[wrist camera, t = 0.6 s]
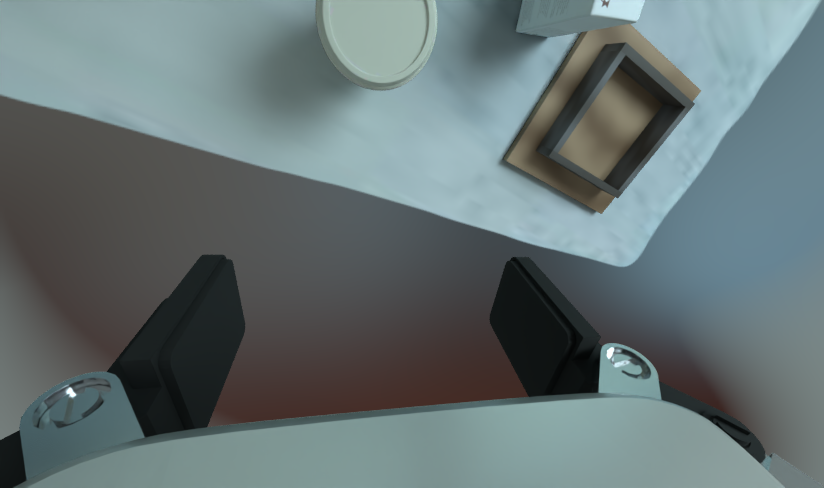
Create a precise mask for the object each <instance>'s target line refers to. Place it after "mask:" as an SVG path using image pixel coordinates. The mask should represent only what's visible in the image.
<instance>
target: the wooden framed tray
mask: <svg viewBox="0 0 824 488" xmlns="http://www.w3.org/2000/svg"><path fill="white" fill-rule="evenodd" d="M700 92H701V90H700V89H699V88H698V87H697V86H696V85H695V84H693V83H692V82H691V81H690V80H689V79H688V78H687V77H686V76H685V75H684V74H683V73H682V72H681V71H680V70H679V69H678V68H676V67H675V66H674V65H673V64H672V63H671V62H670V61H669V60H668V59H667V58H666V57H665V56H664V55H663V54H662V53H660V52H659V51H658V50H657V49H656V48H655V47H654V46H653V45H652V44H651V43H650V42H649V41H648V40H647V39H646V38H644V37H643V36H642V35H641V34H640V33H639V32H638V31H637V30H636V29H635V28H634V27H633V26H632V25H631V24H626V25H619V26H614V27H608V28H603V29H596V30H591V31H585V32H582V33H581V35H580V36H579V38H578V39H577V41H576V43H575V44H574V46H573V47H572V49H571V51H570V52H569V54H568V55H567V57H566V59H565V60H564V62H563V64H562V65H561V67H560V68H559V70H558V72H557V73H556V75H555V76H554V78H553V80H552V81H551V83H550V84H549V86H548V88H547V89H546V91H545V92H544V94H543V96H542V97H541V99H540V100H539V102H538V104H537V105H536V107H535V108H534V110H533V112H532V113H531V115H530V117H529V118H528V120H527V121H526V123H525V125H524V126H523V128H522V129H521V131H520V133H519V134H518V136H517V137H516V139H515V141H514V142H513V144H512V145H511V147H510V149H509V150H508V152H507V153H506V155H505V157H504V158H503V159H504V160H506V161H507V162H509V163H511V164H513V165H514V166H516V167H518V168H520V169H522V170H523V171H525V172H527V173H529V174H531V175H532V176H534V177H536V178H538V179H540V180H541V181H543V182H545V183H547V184H549V185H550V186H552V187H554V188H556V189H558V190H559V191H561V192H563V193H565V194H567V195H568V196H570V197H572V198H574V199H575V200H577V201H579V202H581V203H583V204H584V205H586V206H588V207H590V208H592V209H593V210H595V211H597V212H599V213H601V214H602V213H603V212H604V210H605V209H606V208H607V207H608V205H609V204H610V203H611V202H612V200H613V199H614V198H615V197H616V198H619V196H620V195H621V194H622V193H623V191H624V190H625V189H626V188H627V187H628V185H629V184H630V183H631V182H632V180H633V179H634V178H635V177H636V176H637V174H638V173H639V172H640V171H641V169H642V168H643V167H644V166H645V164H646V163H647V162H648V161H649V160H650V158H651V157H652V156H653V155H654V153H655V152H656V151H657V150H658V149H659V147H660V146H661V145H662V144H663V142H664V141H665V140H666V139H667V137H668V136H669V135H670V134H671V133H672V131H673V130H674V129H675V128H676V126H677V125H678V124H679V123H680V122H681V120H682V119H683V118H684V117H685V115H686V114H687V113H688V112H689V110H690V109H691V108H692V107H693V106H694V103H693V100H694V99H695V98H696V97H697V95H698V94H699V93H700Z"/></svg>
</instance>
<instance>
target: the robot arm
mask: <svg viewBox="0 0 824 488" xmlns="http://www.w3.org/2000/svg"><path fill="white" fill-rule="evenodd" d="M490 324H491V326H492V328H493V330H494V332H495V334H496V336H497V337H498V339H499V341H500V343H501V345H502V347H503V349H504V351H505V353H506V355H507V356H508V358H509V360H510V362H511V364H512V366H513V368H514V370H515V372H516V373H517V375H518V377H519V379H520V381H521V383H522V385H523V387H524V389H525V390H526V392H527V394H528V396H529V397H525V398H524V397H523V398H512V399H499V400H489V401H488V400H487V401H476V402H464V403H453V404H441V405H431V406H419V407H408V408H397V409H386V410H376V411H364V412H353V413H343V414H332V415H322V416H311V417H301V418H291V419H280V420H270V421H260V422H251V423H242V424H233V425H225V426H215V427H207V426H208V424H209V421H210V418H211V416H212V413H213V411H214V408H215V406H216V403H217V401H218V398H219V396H220V393H221V391H222V388H223V386H224V383H225V380H226V378H227V376H228V373H229V371H230V368H231V366H232V363H233V361H234V358H235V355H236V353H237V351H238V348H239V345H240V343H241V340H242V338H243V335H244V332H245V321H244V316H243V311H242V306H241V301H240V296H239V291H238V286H237V281H236V276H235V271H234V266H233V262H232V260H229V259H226V257H225V256H224V255H202V256H201V257H200V258H199V259H198V260H197V262H196V263H195V264H194V266H193V267H192V268H191V269H190V271H189V272H188V273H187V275H186V276H185V277H184V278H183V280H182V281H181V283H180V284H179V285H178V286H177V287H176V289H175V290H174V291H173V292H172V294H171V295H170V296H169V298H167V299H165V300H164V301H163V302H162V303H161V304H160V305H159V307H158V308H157V309H156V310H155V311H154V313H153V314H152V315H151V317H150V318H149V319H148V320H147V322H146V323H145V324H144V325H143V327H142V328H141V329H140V330H139V332H138V333H137V334H136V335H135V337H134V338H133V339H132V341H131V342H130V343H129V344H128V346H127V347H126V348H125V349H124V351H123V352H122V353H121V354H120V356H119V357H118V358H117V359H116V361H115V362H114V363H113V364H112V366H111V367H110V368H109V370H108V371H107V372H93V373H87V374H82V375H79V376H77V377H74V378H71V379H69V380H66V381H64V382H62V383H60V384H58V385H56V386H54V387H52V388H51V389H50V390H48V391H47V392H45V393H44V394H42V395H41V396H39V397H38V398H37V399H36V400H35V401H34V402H33V403H32V404H31V405H30V406H29V407H28V408H27V410H26V411H25V413H24V414H23V416H22V417H21V421H20V427H19V428H20V430H19V431H17V432H15V433H13V434H11V435H10V436H8V437H6V438H4V439H2V440H0V488H824V486H823V485H821V484H820V483H818V482H817V481H815V480H814V479H812V478H811V477H809V476H808V475H806V474H805V473H803V472H802V471H800V470H799V469H797V468H796V467H794V466H792V465H791V464H789V463H788V462H786V461H785V460H783V459H782V458H780V457H779V456H777V455H776V454H774V453H772V454H771V455H769V456H767V455H766V454H765V451H764V448H763V446H762V445H761V443H760V442H759V440H758V439H757V438H756V437H755V435H754V434H753V433H752V432H750V431H749V429H748V428H746V426H745V425H743V424H742V423H741V422H740V421H738V420H737V419H735V418H733V417H731V416H729V415H728V414H725V413H724V412H722V411H720V410H718V409H716V408H713V407H712V406H709V405H707V404H705V403H703V402H701V401H699V400H697V399H695V398H693V397H691V396H689V395H687V394H685V393H683V392H680V391H678V390H676V389H674V388H672V387H670V386H668V385H666V384H664V383H662V382H660V381H659V380H658V374H657V372H656V369H655V368H654V366H653V365H652V364H651V362H650V361H648V360H647V359H646V358H645V357H644V356H643V355H641V354H640V353H638V352H637V351H635V350H633V349H631V348H629V347H627V346H624V345H621V344H615V343H610V344H605V345H604V346H603V347H602V346H601V345H600V344H599V343H598V341H599V340H600V338H601V336H600V335H599V334H598V333H597V332H596V331H595V330H594V329H593V327H592V326H591V325H590V324H589V323H588V322H587V321H586V320H585V319H584V317H583V316H582V315H581V314H580V313H579V312H578V311H577V310H576V309H575V307H574V306H573V305H572V304H571V303H570V302H569V301H568V300H567V299H566V298H565V296H564V295H563V294H562V293H561V292H560V291H559V290H558V289H557V288H556V287H555V285H554V284H553V283H552V282H551V281H550V280H549V279H548V278H547V277H546V275H545V274H544V273H543V272H542V271H541V270H540V269H539V268H538V267H537V266H536V264H535V263H534V262H533V261H532V260H531V259H530V258H529V257H513V258H511V260H510V261H507V263H506V265H505V268H504V271H503V275H502V278H501V281H500V284H499V288H498V291H497V294H496V297H495V301H494V304H493V307H492V310H491V314H490Z"/></svg>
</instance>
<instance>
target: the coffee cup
mask: <svg viewBox="0 0 824 488" xmlns="http://www.w3.org/2000/svg"><path fill="white" fill-rule="evenodd" d="M316 23H317V29H318V33H319V37H320V40H321V43H322V46H323V48H324V50H325V52H326V54H327V56H328V58H329V59H330V61H331V62H332V64H333V65H334V66H335V67H336V69H337V70H338V71H339V72H340V73H341V74H342V75H343V76H345V77H346V78H347V79H348V80H350V81H351V82H353V83H355V84H357V85H359V86H361V87H364V88H367V89H371V90H390V89H394V88H397V87H400V86H402V85H404V84H406V83H407V82H409V81H410V80H412V79H413V78H414V77H415V76H416V75H417V74H418V73H419V72H420V71H421V70H422V68H423V67H424V65H425V64H426V62H427V60H428V58H429V56H430V54H431V52H432V49H433V46H434V43H435V39H436V33H437V8H436V3H435V0H316Z"/></svg>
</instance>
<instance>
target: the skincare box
mask: <svg viewBox="0 0 824 488" xmlns="http://www.w3.org/2000/svg"><path fill="white" fill-rule="evenodd" d="M644 2H645V0H523V1H522V5H521V10H520V14H519V19H518V23H517V28H516V32H519V33H525V34H530V35H538V36H544V37H555V36H561V35H567V34H573V33H579V32H585V31H591V30H596V29H603V28H608V27H614V26H619V25H626V24H632V23H636V22H637V21H638V19H639V16H640V13H641V10H642V7H643V5H644Z"/></svg>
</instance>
